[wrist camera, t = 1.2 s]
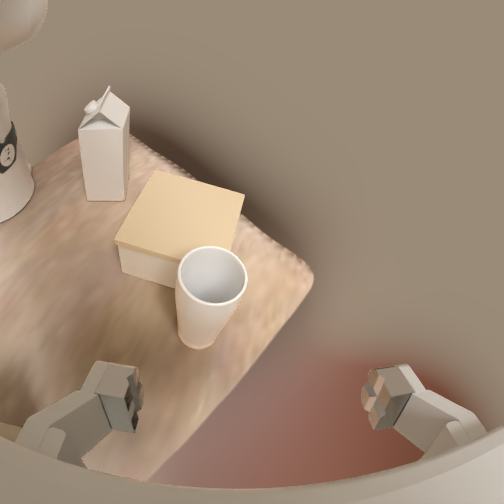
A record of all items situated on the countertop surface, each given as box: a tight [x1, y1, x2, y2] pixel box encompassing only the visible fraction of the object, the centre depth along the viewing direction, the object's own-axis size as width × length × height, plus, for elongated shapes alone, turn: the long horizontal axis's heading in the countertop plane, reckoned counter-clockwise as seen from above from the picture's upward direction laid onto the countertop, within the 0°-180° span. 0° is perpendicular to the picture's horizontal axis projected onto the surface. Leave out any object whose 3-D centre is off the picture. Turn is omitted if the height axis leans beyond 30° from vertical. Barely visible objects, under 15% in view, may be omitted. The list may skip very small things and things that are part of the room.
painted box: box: [114, 170, 245, 289], centre depth 44 cm, size 15×15×8 cm
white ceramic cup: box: [175, 246, 248, 349], centre depth 34 cm, size 7×7×15 cm
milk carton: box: [78, 86, 130, 201], centre depth 43 cm, size 7×7×19 cm
